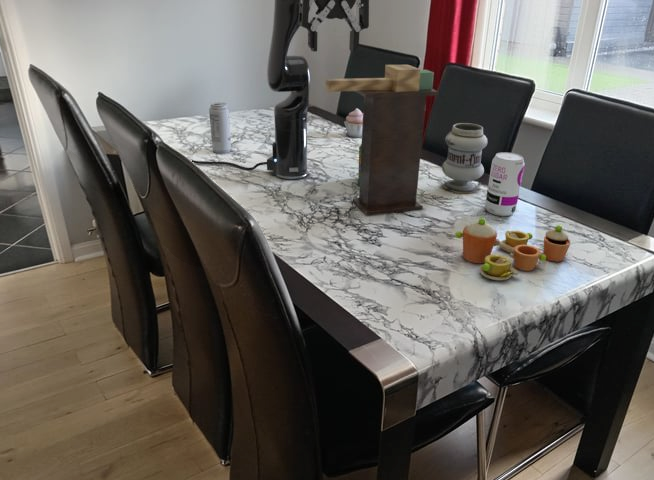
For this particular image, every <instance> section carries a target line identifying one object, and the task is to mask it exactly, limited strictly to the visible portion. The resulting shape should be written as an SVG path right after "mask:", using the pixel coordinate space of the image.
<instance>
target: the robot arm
mask: <svg viewBox="0 0 654 480" xmlns="http://www.w3.org/2000/svg"><path fill="white" fill-rule="evenodd" d="M313 2H314V4H315V5H316V7H317V8H316V10H315V11H314V13H313V15H312V17H311V19H310V20H309V16H310V15H309V13H310V11H311V8H312V5H313ZM355 4H356V7H357V8H358V21H357V18H356V16H355V14H354V13H353V11H352V9H353V7H354V6H355ZM325 19H328V20H334V19H338V20H344V21H345V22H346V23H347V24H348V26H349V28H350V29H351V30H349V43H348V45H349V51H351V52H356V51H357V49H359V47H360V46H359V45H360V33H361V31H363V30H365V29H369V27H370V0H274V8H273V22H272V30H271V38H270V46H269V52H268V58H267V65H266V79H267V84H268V87H269V88H270V90H271V91H273V92H276V93H287V92H290V93H289V95H288V96H287V97H285V98H284V99H283V100H281V101H279V102H278V103H276V104H275V105H274V107H273V117H274V119H273V120H274V142H272V144H271V145H272V148H271V149H272V155H271V156H270V157H268V158H267V159H266V161H261V162H258V163H256V164H255V165H253V166H252V167H245V166H242V165H240V164H237V163H233V162H229V161H206V160H205V161H204V160H203V161H202V160H194V159H190V158H189V159H190V160H192V162H194V163H193V164H196V165H197V164H198V165H226V166H233V167H235V168H238V169H242V170H246V171H253V170H255V169H257V168H258V167H260V166H264V165H266V170H267V171H270V172H271V171H272V175H273V176H275V177H278V178H280V179H285V180H299V179H300V180H301V179H304V178H306V177H307V176H308V109H309V106H310V105H309V104H310V85H311V72H310V71H311V70H310V64H309V62H308V60H307V59H306V57H305V56H303V55H298V54H295V55H288V54H289V53H288V52H289V48H290V45H291V42H292V40H293V38H294V36H295V34H296V33H297V32H298V30H299V29H300V27H302V28H304V29H306V30H307V47H308V48H309V49H310V51H311V52H313V53H315V52H318V31H317V30H318V28H319V27H320V25H321V24H322V23H323V22H324V21H325ZM192 162H191V163H192Z"/></svg>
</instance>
